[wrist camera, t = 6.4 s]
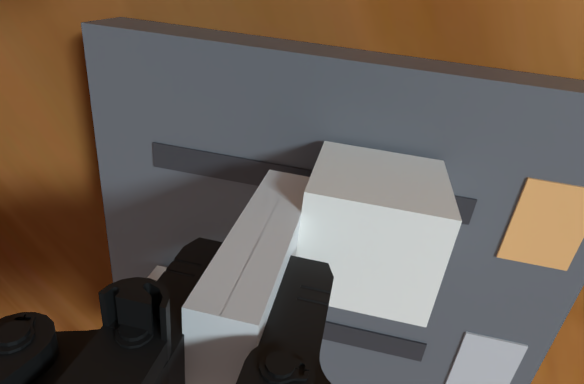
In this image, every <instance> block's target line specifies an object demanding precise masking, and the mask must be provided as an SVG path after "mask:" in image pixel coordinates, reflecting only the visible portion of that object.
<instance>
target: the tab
mask: <svg viewBox="0 0 584 384" xmlns="http://www.w3.org/2000/svg"><path fill="white" fill-rule="evenodd" d="M461 223H462V219H461V216H460V213H459V209H458V206H457V203H456V199H455V196H454V193H453V189H452V186H451V183H450V180H449V176H448V173H447V170H446V166H445V163H444V161H442V160H436V159H431V158H425V157H419V156H413V155H407V154H401V153H395V152H389V151H383V150H377V149H371V148H365V147H359V146H353V145H347V144H341V143H335V142H329V141H324V143H323V146H322V148H321V151H320V153H319V156H318V158H317V161H316V163H315V166H314V168H313V171H312V173H311V176H310V178H309V181H308V183H307V186H306V188H305V191H304V196H303V204H302V212H301V221H300V228H299V236H298V243H297V251H296V256H297V257H301V258H306V259H311V260H316V261H320V262H325V263H328V264H329V266H330V269H331V271H332V274H333V276H334V279H333V285H332V290H331V295H330V301H329V306H330V307H335V308H339V309H344V310H348V311H353V312H357V313H362V314H367V315H371V316H376V317H380V318H385V319H389V320H394V321H398V322H403V323H408V324H412V325H417V326H421V327H427V324H428V321H429V318H430V315H431V312H432V309H433V306H434V303H435V300H436V297H437V294H438V291H439V288H440V285H441V282H442V279H443V276H444V273H445V270H446V267H447V265H448V262H449V259H450V256H451V253H452V250H453V247H454V244H455V241H456V238H457V235H458V232H459V229H460V226H461Z"/></svg>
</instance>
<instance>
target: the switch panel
mask: <svg viewBox="0 0 584 384" xmlns="http://www.w3.org/2000/svg"><path fill="white" fill-rule="evenodd" d="M81 27H82V35H83V43H84V51H85V59H86V67H87V75H88V84H89V92H90V100H91V108H92V116H93V124H94V132H95V140H96V148H97V156H98V165H99V173H100V181H101V189H102V197H103V205H104V213H105V221H106V229H107V237H108V245H109V254H110V262H111V270H112V278H113V283H114V282H116V281H119V280H121V279H126V278H133V277H143V278H147V277H148V276H149V275H150V274H151V272H152V271H153V270H154V269H155V267H156V266H157V265H158V266H163V267H168V266H169V265H170V263H171V262H172V261H174V258H175V257H176V256H177V254H178V253H179V252H180V250H181V249H182V248H183V247H184V246H185V245H187V244H188V243H190V242H192V241H194V240H195V239H197V238H199V237H200V238H205V239H210V240H215V241H219V242H224V240H225V238H226V237H227V235H228V234H229V232H230V231H231V229H232V228H233V226H234V224H235V223H236V221H237V220H238V218H239V217H240V215H241V213H242V212H243V210H244V209H245V207H246V206H247V204H248V202H249V201H250V199H251V198H252V196H253V195H254V193H255V191H256V190H257V188H258V187H259V185H260V184H261V182H262V180H263V179H264V177H265V176H266V174H267V173H268V171H269V170H274V171H280V172H285V173H291V174H296V175H302V176H307V177H310V176H311V173H312V171H313V168H314V166H315V163H316V161H317V158H318V156H319V153H320V151H321V148H322V146H323V143H324V141H329V142H335V143H341V144H347V145H353V146H359V147H365V148H371V149H377V150H383V151H389V152H395V153H401V154H407V155H413V156H419V157H425V158H431V159H436V160H442V161H444V163H445V166H446V170H447V173H448V176H449V180H450V183H451V186H452V189H453V193H454V196H455V199H456V203H457V206H458V209H459V213H460V216H461V219H462V223H461V226H460V229H459V232H458V235H457V238H456V241H455V244H454V247H453V250H452V253H451V256H450V259H449V262H448V265H447V267H446V270H445V273H444V276H443V279H442V282H441V285H440V288H439V291H438V294H437V297H436V300H435V303H434V306H433V309H432V312H431V315H430V318H429V321H428V324H427V327H421V326H417V325H412V324H408V323H403V322H398V321H394V320H389V319H385V318H380V317H376V316H371V315H367V314H362V313H357V312H353V311H348V310H344V309H339V308H335V307H330V306H328V311H327V317H326V322H325V328H324V333H323V338H322V344H321V349H320V364H321V368H322V371H323V372H324V374H325V376H326V378H327V379H328V380H329V381H330V382H331V384H531V382H532V380H533V378H534V376H535V374H536V372H537V371H538V369H539V367H540V365H541V363H542V361H543V359H544V358H545V356H546V354H547V352H548V350H549V348H550V346H551V345H552V343H553V341H554V339H555V337H556V335H557V334H558V332H559V330H560V328H561V326H562V324H563V322H564V321H565V319H566V317H567V315H568V313H569V311H570V309H571V308H572V306H573V304H574V302H575V300H576V298H577V296H578V295H579V293H580V291H581V289H582V287H583V285H584V80H579V79H571V78H564V77H557V76H549V75H542V74H535V73H527V72H520V71H513V70H505V69H498V68H491V67H483V66H476V65H469V64H461V63H454V62H447V61H439V60H432V59H425V58H417V57H410V56H403V55H395V54H388V53H381V52H373V51H366V50H359V49H352V48H344V47H337V46H330V45H322V44H315V43H308V42H300V41H293V40H286V39H278V38H271V37H264V36H256V35H249V34H242V33H234V32H227V31H220V30H212V29H205V28H198V27H190V26H183V25H176V24H168V23H161V22H154V21H146V20H139V19H132V18H124V17H117V18H110V19H103V20H96V21H89V22H81Z"/></svg>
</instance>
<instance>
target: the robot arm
mask: <svg viewBox="0 0 584 384" xmlns="http://www.w3.org/2000/svg"><path fill="white" fill-rule="evenodd" d="M309 178H310V177H307V176H302V175H296V174H291V173H285V172H280V171H274V170H269V171H268V173H267V174H266V176H265V177H264V179H263V180H262V182H261V184H260V185H259V187H258V188H257V190H256V191H255V193H254V195H253V196H252V198H251V199H250V201H249V202H248V204H247V206H246V207H245V209H244V210H243V212H242V213H241V215H240V217H239V218H238V220H237V221H236V223H235V224H234V226H233V228H232V229H231V231H230V232H229V234H228V235H227V237H226V238H225V240H224V242H219V241H215V240H210V239H205V238H200V237H199V238H197V239H195V240H194V241H192V242H190V243H188V244H187V245H185V246H184V247H183V248H182V249H181V250H180V252H179V253H178V254H177V256H176V257H175V258H174V261H172V262H171V263H170V265H169V266H168V267H167V268H166V272H165V271H164V272H163V274H162V275H161V276H160V277H159V279H158V280H157V281H156V280H153V279H151V278H143V277H133V278H126V279H121V280H119V281H116V282H114V283H112V284H109V285H108V286H106V287H105V288H104V289H103V290H101V291H100V292H99V300H100V307H101V315H102V322H103V326H102V327H101V329H98V330H89V331H61V332H56V331H55V326H54V322H53V321H52V320H51V319H50V318H49V317H48V316H47V315H43V314H40V313H36V312H22V313H17V314H13V315H9V316H5V317H3V318H1V319H0V384H331V382H330V381H329V380H328V379H327V378H326V376H325V374H324V372H323V371H322V368H321V364H320V349H321V344H322V338H323V333H324V328H325V322H326V317H327V311H328V306H329V301H330V295H331V290H332V285H333V279H334V276H333V274H332V271H331V269H330V266H329V264H328V263H325V262H320V261H316V260H311V259H306V258H301V257H297V256H296V251H297V243H298V236H299V228H300V221H301V212H302V204H303V196H304V191H305V188H306V186H307V183H308V181H309Z"/></svg>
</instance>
